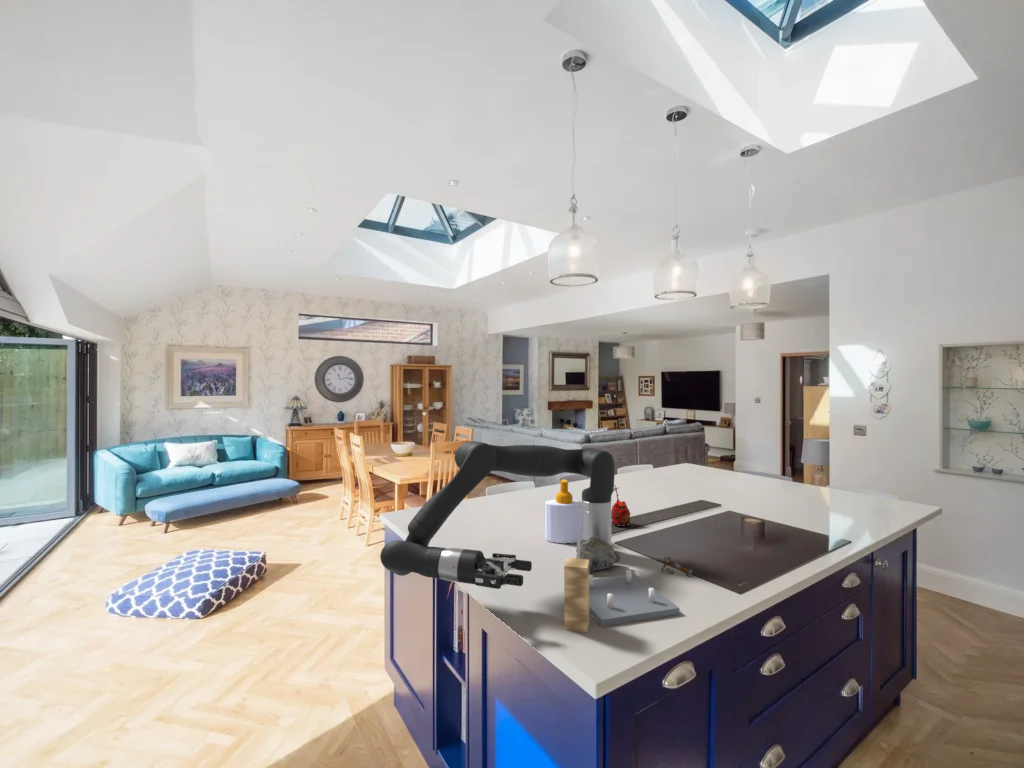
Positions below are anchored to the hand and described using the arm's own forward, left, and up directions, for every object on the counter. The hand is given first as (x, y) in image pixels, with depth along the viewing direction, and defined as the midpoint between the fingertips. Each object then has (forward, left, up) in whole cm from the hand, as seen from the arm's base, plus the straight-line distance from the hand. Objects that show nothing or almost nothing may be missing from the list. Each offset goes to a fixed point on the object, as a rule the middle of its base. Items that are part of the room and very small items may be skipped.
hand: (527, 573), depth 105 cm
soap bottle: (-48, +28, -11) cm, 56 cm away
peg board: (-3, +25, -10) cm, 27 cm away
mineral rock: (-21, +28, -11) cm, 37 cm away
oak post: (+5, +10, -11) cm, 16 cm away
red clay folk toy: (-58, +55, -11) cm, 80 cm away
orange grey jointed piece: (-12, +48, -11) cm, 51 cm away
